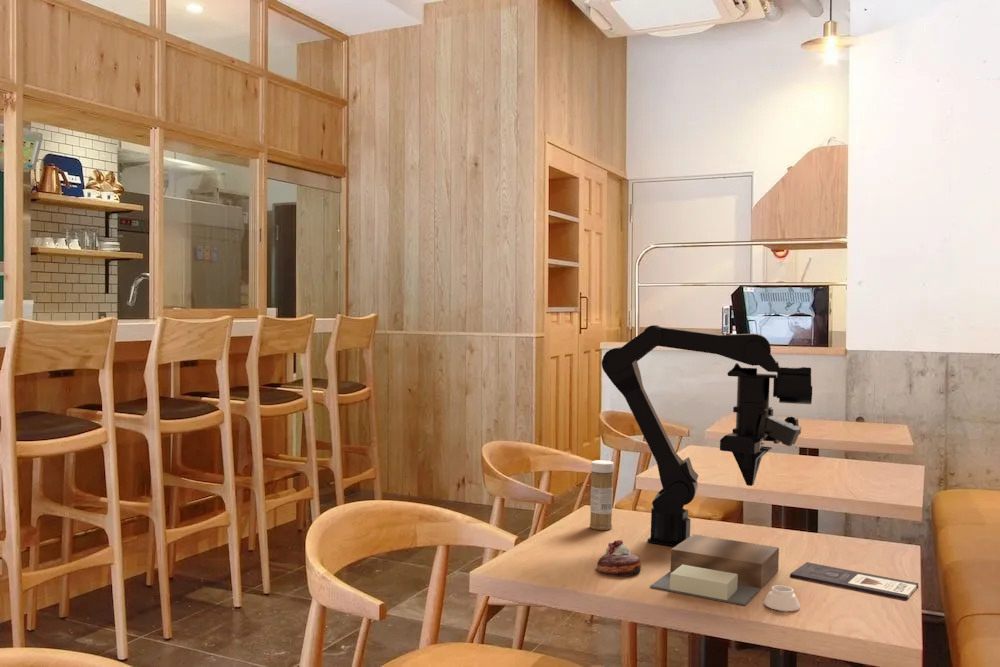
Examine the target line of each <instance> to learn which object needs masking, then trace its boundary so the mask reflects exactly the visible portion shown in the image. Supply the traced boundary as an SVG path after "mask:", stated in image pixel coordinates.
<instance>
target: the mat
mask: <svg viewBox="0 0 1000 667" xmlns="http://www.w3.org/2000/svg"><path fill="white" fill-rule="evenodd" d="M671 573H672V572H670V571H668V572H667V573H666V574H664V575H663V576H661V577H660V578H659V579H658V580H656V581H655V582H653V583H652V584H650V585H649V586H650V587H649V588H651V589H656V590H661V591H667V592H672V593H677V594H682V595H687V596H692V597H697V598H702V599H703V598H704V599H707V600H714V601H719V602H723V603H727V604H728V603H730V604H734V605H738V604H739V606H746V605H747V604H748V603H749V602H750V601H752V599H753V598H754V597H755V596H756V595H757V594H758V593H759V592H758V591H760V590H761V589H760V588H757V587H751V586H746V585H740V584H737V591H736V592H735V593H734V594H733V595H732V596H731V597H730V598H729V599H728V600H723V599H717V598H712V597H707V596H702V595H696V594H691V593H686V592H680V591H675V590H670V574H671ZM757 592H758V593H757ZM755 594H756V595H755ZM754 595H755V596H754Z"/></svg>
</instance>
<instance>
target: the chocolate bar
mask: <svg viewBox="0 0 1000 667" xmlns="http://www.w3.org/2000/svg"><path fill="white" fill-rule="evenodd" d="M789 574H790V575H789V578H792V577H793V579H798V580H802V581H808V582H811V583H818V584H823V585H827V586H832V587H839V588H842V589H847V590H853V591H858V592H862V593H867V594H872V595H878V596H881V597H886V598H891V599H892V598H893V599H897V600H901V601H907V600H908V599H909V598H910V597H911V595H912V594H913V593H914V592H915V591H916V590H917V588H919V583H917V582H913V581H907V580H903V579H898V578H892V577H887V576H886V577H885V576H882V575H876V574H872V573H865V572H860V571H857V570H856V571H855V570H851V569H844V568H840V567H836V566H835V567H834V566H831V565H824V564H817V563H814V562H813V563H812V562H809V561H806V562H805V563H803V565H801V566H799V567H797V569H795V570H793V571H792V572H791V573H789Z"/></svg>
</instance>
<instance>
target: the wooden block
mask: <svg viewBox="0 0 1000 667" xmlns="http://www.w3.org/2000/svg"><path fill="white" fill-rule="evenodd" d="M779 555H780V547H777V546H773V545H766V544H765V545H764V544H760V543H753V542H752V543H751V542H746V541H740V540H739V541H738V540H733V539H726V538H720V537H715V536H708V535H702V534H695V533H693V534H691V535H690V537H689V538H687V539H686V540H684V541H683V542H681V543H680V544H678V545H677V546H673V547H672V548H671V549H670V571H669V572H673V571H674V570H676V569H677V568H678V567H680V566H681V565H688V566H694V567H700V568H706V569H711V570H717V571H723V572H729V573H735V574H738V584H740V585H746V586H751V587H757V588H760V590H762V589H763V587H764V586H766V584H767V583H769V581H770V580H771V579H772V577H774V576H775V575H776V574H775V573H778V571H779V563H780V562H779V558H780V556H779ZM773 575H774V576H773Z"/></svg>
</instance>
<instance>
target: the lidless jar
mask: <svg viewBox="0 0 1000 667" xmlns="http://www.w3.org/2000/svg"><path fill="white" fill-rule="evenodd" d="M763 603H764V605H765V606H766V607H767V608H769V609H771V610H773V609H774V611H777V610H778V612H784V611H791V612H794V611H797V610H799V609H800V608H801V607H800V606H801V605H800V603H799V599H798V598H797V595H796V594H795V593H794V589H793V588H792V587H790V586H786V585H772V587H771V590H769V591H768V593H767V595H766V597H765V598H764V602H763Z"/></svg>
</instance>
